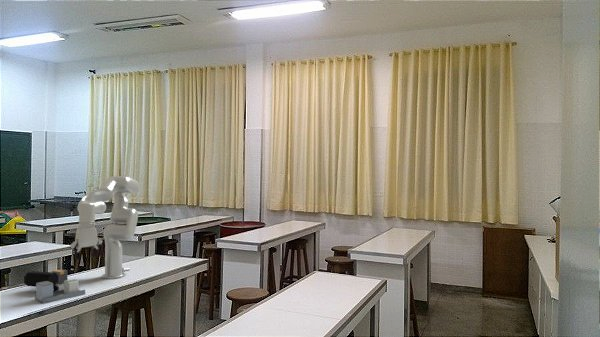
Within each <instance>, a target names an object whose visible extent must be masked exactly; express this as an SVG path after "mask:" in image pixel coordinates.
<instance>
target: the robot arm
mask: <svg viewBox="0 0 600 337" xmlns="http://www.w3.org/2000/svg"><path fill="white" fill-rule="evenodd" d="M139 191H140V183H139V182H138V181H137V180H136V179H134V178H132V177H130V176H124V175H120V176H119V175H117V176H116V175H114V176H113V175H112V176H110V177H108V178H106V179H105V181H104V183H103V184H102V185H101V186H100V187H99V188H97V189H95V190H93V191H91V192H89V193H86V194H85V195H84V196H83V197H82V198H81V199H80V201H79V202H78V204H77V208H76V209H77V212H78V228H76V232H75V238H74V240H75V241H73V242H72V243H70V244H69V246H70V248H71V250H73V251H74V252H75V259H76V260H77V261H80V260H81V252H80V251H81V250H82V248H89V247H90V248H91V247H92V248H93V249H92V257H93V258H97V256H98V250H99V248H100V247H101V246H102V243H103V242H104V245H105V247H104V252H105V253H104V273H103V274H102V275H101V278H103V279H106V280H107V279H108V280H110V279H111V280H112V279H113V280H114V279H119V278H123V277H124V276H126V275H125V272H129V271H130V267H126V268H125V267H123V244H122V243H121V242H120V241H131V240H132V239H133V238H134V236H135V232H136V229H137V224H138V220H139V213H138V210H136V208H130V207H129V200H128V198H127V196H126V195H127V194H131V195H133V194H137V193H138V192H139ZM112 198H113V200H114V201H113V205H112V210H111V214H110V222H111V223H112V224H108V225H106V226H105V227H104V228H103V239H104V241H103V240H102V239H100V238H99V237H98V230H97V228H96V226H97V225H98V222H97V221H96V215H103V214H104V213H105V212H106V211H107V205H106V203H105V201H108V200H111V199H112ZM128 207H129V208H128ZM113 223H114V224H113Z"/></svg>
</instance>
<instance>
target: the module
mask: <svg viewBox="0 0 600 337" xmlns="http://www.w3.org/2000/svg"><path fill="white" fill-rule="evenodd" d="M63 289H64V293H71V292H76V291H78V290H79V280H77V279H75V278H72V279H67V280H66V281H64V284H63Z"/></svg>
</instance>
